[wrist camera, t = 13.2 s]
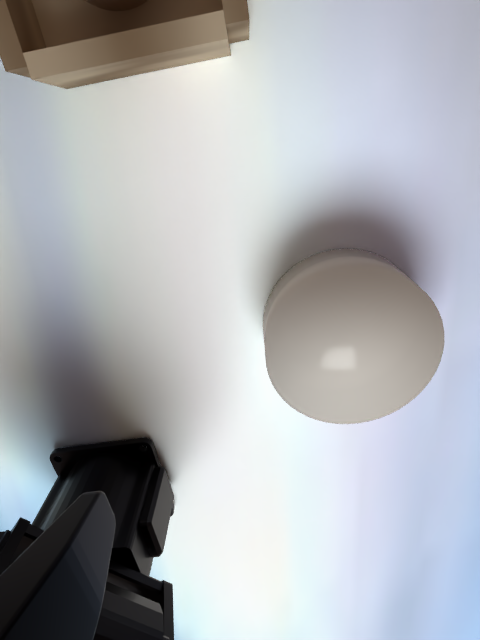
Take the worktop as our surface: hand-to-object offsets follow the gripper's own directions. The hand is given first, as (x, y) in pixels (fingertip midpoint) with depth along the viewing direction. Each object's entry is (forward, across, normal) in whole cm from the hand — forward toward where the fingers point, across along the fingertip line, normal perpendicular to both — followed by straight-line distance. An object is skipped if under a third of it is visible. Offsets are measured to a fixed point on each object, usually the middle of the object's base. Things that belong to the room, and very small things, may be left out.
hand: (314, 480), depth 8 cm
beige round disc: (+13, -3, +3) cm, 14 cm away
